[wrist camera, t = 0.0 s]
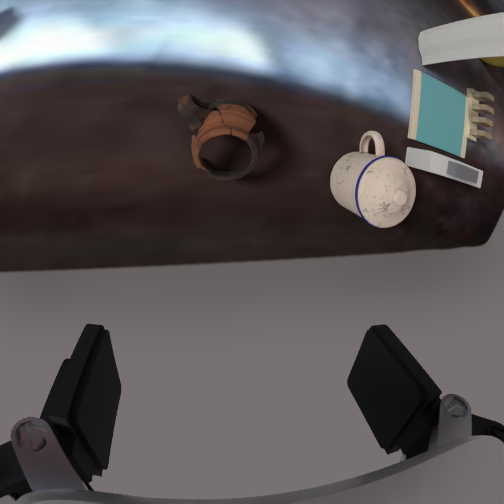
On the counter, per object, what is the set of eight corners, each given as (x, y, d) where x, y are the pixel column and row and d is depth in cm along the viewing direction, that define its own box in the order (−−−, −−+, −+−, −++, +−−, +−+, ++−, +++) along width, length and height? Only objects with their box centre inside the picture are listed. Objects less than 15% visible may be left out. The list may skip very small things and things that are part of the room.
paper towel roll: (433, 29, 32) (525, 11, 12) (446, 59, 34) (541, 53, 15) (407, 33, 32) (506, 8, 13) (421, 65, 35) (525, 55, 15)
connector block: (407, 147, 40) (440, 153, 33) (460, 165, 42) (491, 173, 35) (404, 165, 41) (437, 173, 34) (457, 180, 44) (488, 191, 36)
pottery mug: (275, 118, 36) (284, 151, 31) (229, 161, 42) (229, 199, 37) (202, 65, 30) (195, 88, 25) (159, 118, 35) (145, 152, 30)
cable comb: (466, 88, 37) (487, 88, 32) (473, 92, 37) (494, 93, 32) (463, 136, 40) (484, 140, 35) (470, 140, 41) (491, 144, 36)
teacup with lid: (380, 207, 43) (426, 231, 32) (328, 213, 42) (367, 241, 31) (379, 130, 38) (430, 135, 28) (324, 130, 37) (367, 132, 27)
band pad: (413, 69, 35) (416, 69, 34) (467, 98, 38) (470, 98, 37) (407, 137, 39) (410, 138, 39) (462, 157, 42) (464, 158, 41)
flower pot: (496, 64, 35) (526, 64, 27) (478, 69, 35) (511, 68, 27) (482, 27, 31) (511, 23, 23) (462, 29, 32) (494, 23, 24)
